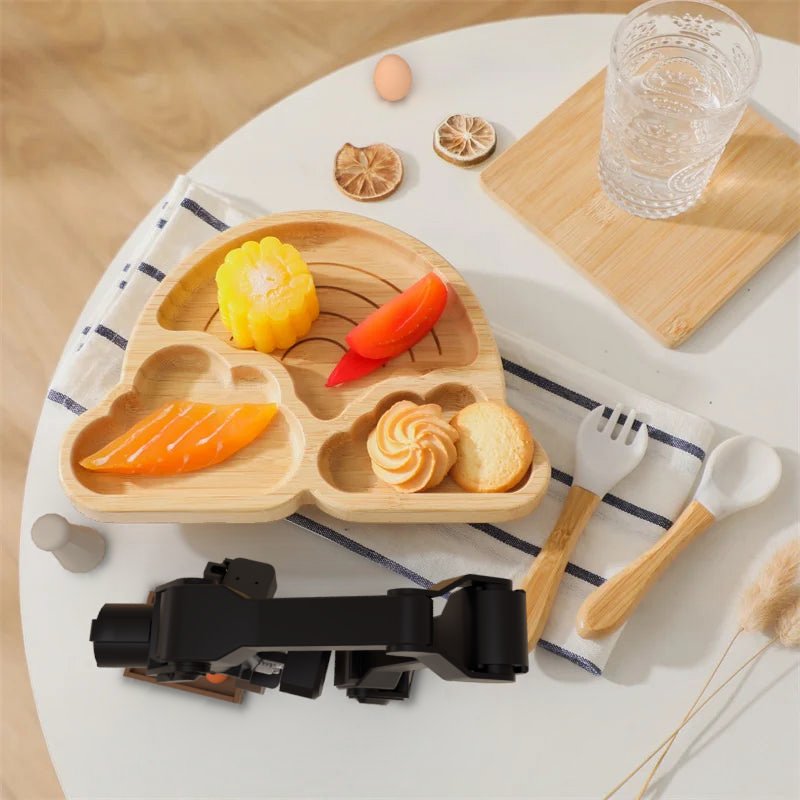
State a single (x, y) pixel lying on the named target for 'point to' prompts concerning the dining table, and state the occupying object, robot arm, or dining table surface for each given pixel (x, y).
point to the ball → (216, 678)
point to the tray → (199, 686)
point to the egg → (392, 77)
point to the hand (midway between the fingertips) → (254, 656)
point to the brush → (249, 686)
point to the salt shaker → (68, 542)
